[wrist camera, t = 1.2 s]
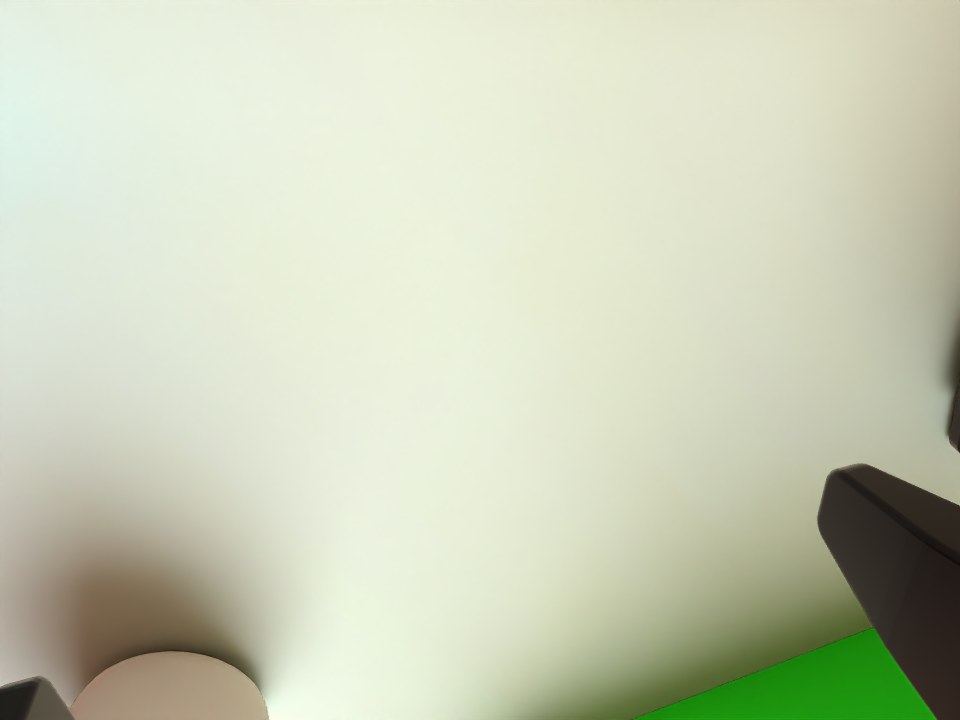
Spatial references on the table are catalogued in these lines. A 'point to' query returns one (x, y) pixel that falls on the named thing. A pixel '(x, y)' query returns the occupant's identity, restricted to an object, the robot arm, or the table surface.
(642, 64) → the table surface
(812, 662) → the building blocks toy
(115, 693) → the cup
